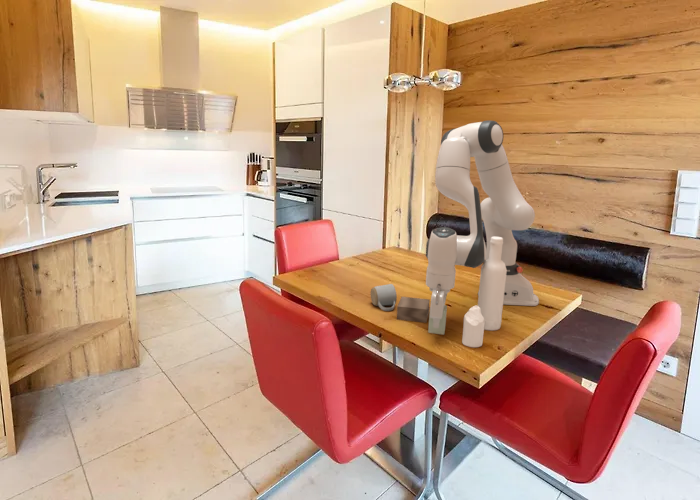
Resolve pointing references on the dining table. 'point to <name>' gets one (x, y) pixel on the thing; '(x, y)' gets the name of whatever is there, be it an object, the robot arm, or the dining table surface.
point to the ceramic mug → (384, 296)
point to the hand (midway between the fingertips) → (437, 321)
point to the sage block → (441, 324)
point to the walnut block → (413, 309)
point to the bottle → (492, 286)
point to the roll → (473, 327)
